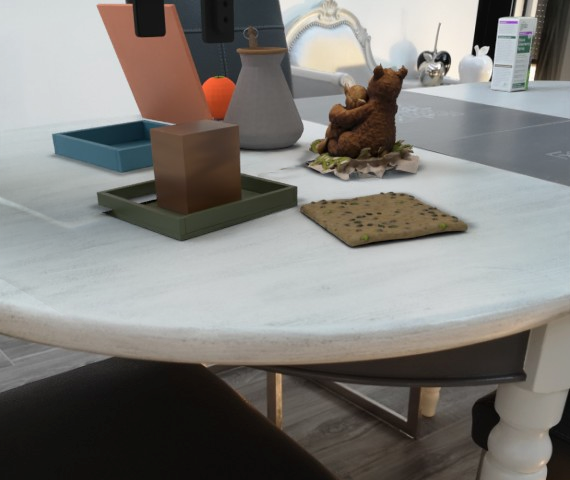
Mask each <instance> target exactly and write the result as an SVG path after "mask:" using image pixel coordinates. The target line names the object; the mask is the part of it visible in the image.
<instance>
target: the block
mask: <svg viewBox="0 0 570 480" xmlns="http://www.w3.org/2000/svg"><path fill="white" fill-rule="evenodd" d="M168 125H169V126H163V127H157V128H151V129H150V137H151V147H152V157H153V166H152V167H153V176H154V179H155V187H156V193H155V196H156V199H157V206H159V207H162V208H165V209H168V210H171V211H175V212H178V213H181V214H184V215H188V214H192V213H195V212H199V211H203V210H206V209H210V208H213V207H217V206H221V205H224V204H228V203H232V202H235V201H239V200H242V194H241V173H242V172H241V168H242V167H241V148H240V141H239V125H234V124H229V123H223V121H217V120H213V121H211V120H200V121H194V122H188V123H182V124H168Z"/></svg>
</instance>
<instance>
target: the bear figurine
mask: <svg viewBox="0 0 570 480" xmlns="http://www.w3.org/2000/svg"><path fill="white" fill-rule="evenodd" d="M372 73H373V75H371V77H370V78H369V79H368V83H367V86H366V87H365V86H362V85H361V84H354V85H352V86H350V85H349V83H348V82H345V83H344V85H343V86H344V87H343V91H344V92H343V93H344V95H345V101H344V104H345V106H344V105H342V104H341V103H335V104H334V105H333V106H332V107H331V109H330V110H329V113H328V122H329V124H328V126H327V128H326V130H325V135H324V138H317V139H315V140H313V141H312V142H311V144H310V145H309V146H310V147H309V148H308V150H309V151H310V152H313V153H314V154H317V155H319V156H317V157H316V158H315V159H312V160H308V161H307V163H308V164H309V165H307V164H305V167H306V168H307V169H308V168H311V169H313V170H315V171H317V172H320V173H321V174H322V175H323V174H327V173H330V172H333V173H334V175H335V176H337V177H338V178H340V179H342V180H343V181H348V180H350V174H352V173H355V174H356V175H358V179H381V178H383V175H384V173H385V171H387V170H393V169H394V170H395V171H404V172H407V173H412V174H418V169H419V162H420V156H418V155H414V154H415V151H414V150H413V147H414V145H412V144H410V143H406V144H405V143H404V142H405V139H399V140H397V126H396V115H397V113H398V109H399V105H398V104H397V101H398V98H399V95H400V94H401V91H402V88H403V84H404V80H405V78H406V77H407V76H408V74H409V69H408V68H406V67H405V65H404V64H402V65H401V67H400V68H399V69H397V70H393V69H392V68H391V67H384V68H383V65H382V63H380V64H379V65H376V66H375V67H374V68H373V71H372ZM396 140H397V141H396ZM403 143H404V144H403ZM370 172H371V173H373V174H374V175H373V174H371V173H370Z"/></svg>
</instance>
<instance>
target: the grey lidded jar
mask: <svg viewBox="0 0 570 480" xmlns="http://www.w3.org/2000/svg"><path fill="white" fill-rule="evenodd" d="M246 31H247V36H246V35H245V32H246ZM256 32H257V33H256ZM242 35H243V37H244V38H245V39H247V40H248V45H249V47H247V46H246V47H240V48H237V49H236V53H238V54H239V56H240V61H241V69H240V71H239V75H238V78H237V81H236V83H235V85H236V86H235V89H234V92H233V95H232V98H231V101H230V103H229V106H228V109H227V112H226V115H225V118H224V119H223V120H222V122H223V123H229V124H234V125H239V141H240V149H243V150H251V151H252V150H254V151H269V150H270V151H271V150H280V149H285V148H289V147H292V146H294V145H295V144H296V143H297V142H298V141H299V140H300V139H301V138H302V135H303V134H304V130H305V126H304V123H303V120H302V117H301V116H300V113H299V110H298V107H297V105H296V102H295V100H294V97H293V95H292V91H291V89H290V87H289V84H288V82H287V79H286V76H285V74H284V72H283V69H282V66H281V64H282V61H283V60H284V57H285V55H286V53H287V52H288V48H287V47H277V46H259V43H258V39H257V38H258V36H259V31H258V29H257V28H256V27H254V26H252V25H248V27H247V28H245V29H244V30H243V33H242Z"/></svg>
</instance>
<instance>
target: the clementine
mask: <svg viewBox="0 0 570 480" xmlns="http://www.w3.org/2000/svg"><path fill="white" fill-rule="evenodd" d="M201 86H202V88H203V91H204V94H205V97H206V100H207V103H208V106H209V109H210V112H211V115H212V118H213V119H215V120H224V118H225V115H226V112H227V109H228V106H229V103H230V101H231V98H232V95H233V92H234V89H235V86H236V83H234V81H233V80H231V79H230V78H228V77H226V76H224V75H220V74H217V75H216V76H212V77H209V78H208V79H207V80H205V81H204V82H203V84H202V85H201Z"/></svg>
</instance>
